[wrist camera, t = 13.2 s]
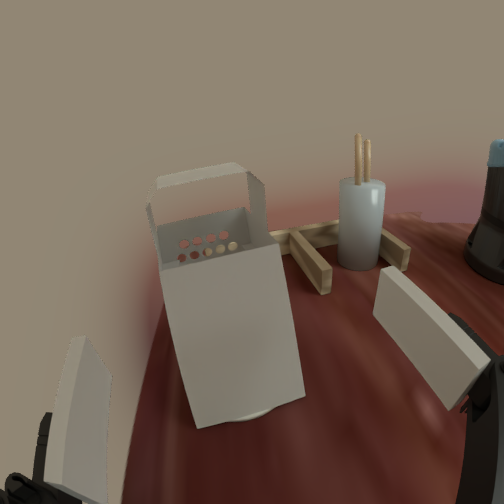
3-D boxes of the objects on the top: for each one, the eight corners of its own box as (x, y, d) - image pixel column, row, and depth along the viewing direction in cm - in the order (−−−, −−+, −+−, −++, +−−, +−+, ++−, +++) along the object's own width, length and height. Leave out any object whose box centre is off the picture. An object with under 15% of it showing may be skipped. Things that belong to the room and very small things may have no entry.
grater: (180, 351, 31) (128, 175, 21) (267, 328, 33) (251, 151, 23) (197, 428, 22) (107, 218, 12) (305, 395, 24) (313, 177, 15)
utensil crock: (363, 246, 49) (368, 130, 39) (385, 265, 43) (396, 136, 33) (329, 253, 48) (330, 130, 38) (350, 274, 42) (356, 136, 32)
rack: (362, 234, 53) (363, 215, 51) (406, 270, 41) (411, 248, 39) (207, 265, 48) (203, 244, 46) (219, 319, 36) (214, 294, 34)
